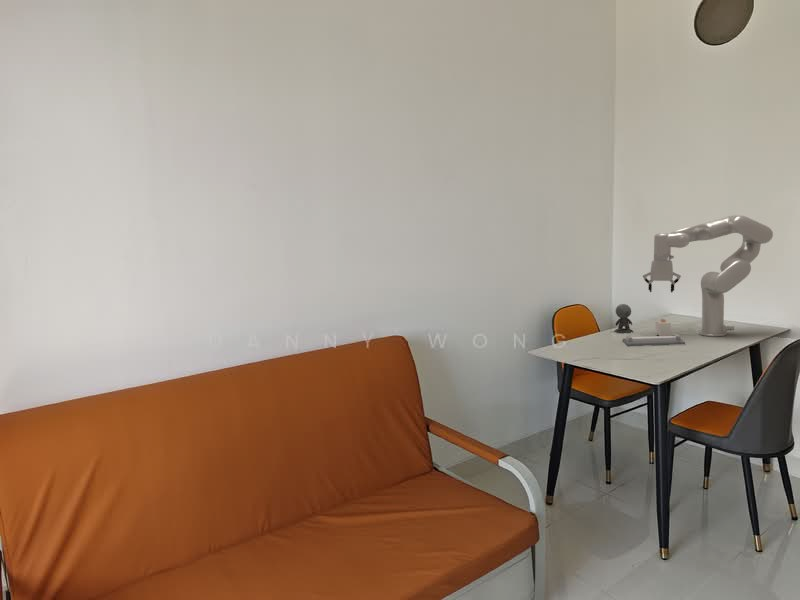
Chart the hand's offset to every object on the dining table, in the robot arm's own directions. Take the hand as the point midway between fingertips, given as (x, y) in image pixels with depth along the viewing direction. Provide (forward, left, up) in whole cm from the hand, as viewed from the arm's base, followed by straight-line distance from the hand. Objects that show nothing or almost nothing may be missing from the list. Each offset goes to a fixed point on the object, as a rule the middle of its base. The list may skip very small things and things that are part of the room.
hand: (661, 291), depth 278 cm
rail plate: (+7, +13, -23) cm, 27 cm away
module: (-1, 0, -23) cm, 23 cm away
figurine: (+15, -14, -23) cm, 31 cm away
